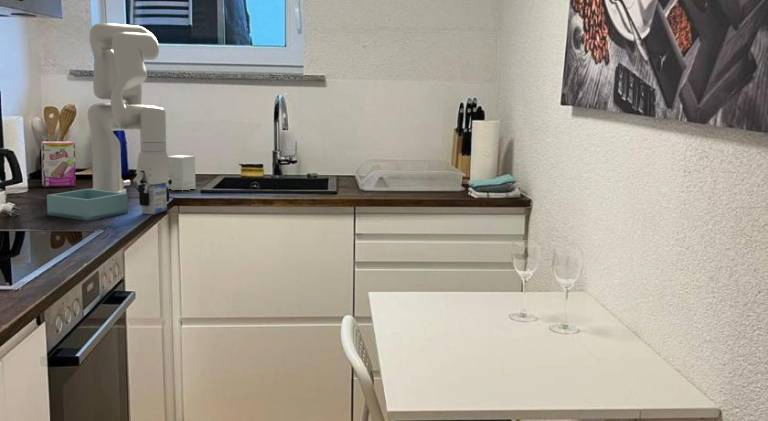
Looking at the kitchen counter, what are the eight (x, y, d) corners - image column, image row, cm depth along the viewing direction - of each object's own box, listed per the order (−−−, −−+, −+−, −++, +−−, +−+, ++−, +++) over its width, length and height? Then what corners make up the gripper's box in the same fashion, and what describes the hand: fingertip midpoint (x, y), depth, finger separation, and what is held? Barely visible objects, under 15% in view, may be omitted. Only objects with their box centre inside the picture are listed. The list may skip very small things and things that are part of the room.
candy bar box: (43, 187, 275) (41, 142, 272) (42, 185, 279) (40, 141, 276) (76, 186, 281) (75, 142, 278) (74, 184, 285) (72, 140, 282)
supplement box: (196, 189, 283) (195, 155, 280) (182, 191, 276) (182, 157, 274) (181, 187, 286) (180, 154, 284) (167, 189, 279) (166, 155, 277)
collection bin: (88, 207, 238) (87, 188, 237) (128, 212, 232) (127, 193, 231) (47, 215, 224) (46, 195, 223) (88, 220, 217) (87, 200, 216)
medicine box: (154, 214, 230) (154, 186, 228) (141, 213, 231) (140, 185, 229) (167, 210, 237) (166, 183, 236) (154, 209, 238) (153, 182, 237)
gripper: (162, 145, 240) (163, 198, 243) (123, 148, 224) (125, 206, 227) (181, 146, 237) (182, 200, 240) (143, 150, 221) (144, 208, 224)
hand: (154, 203), depth 233 cm, fingers closed on medicine box, 8 cm apart
